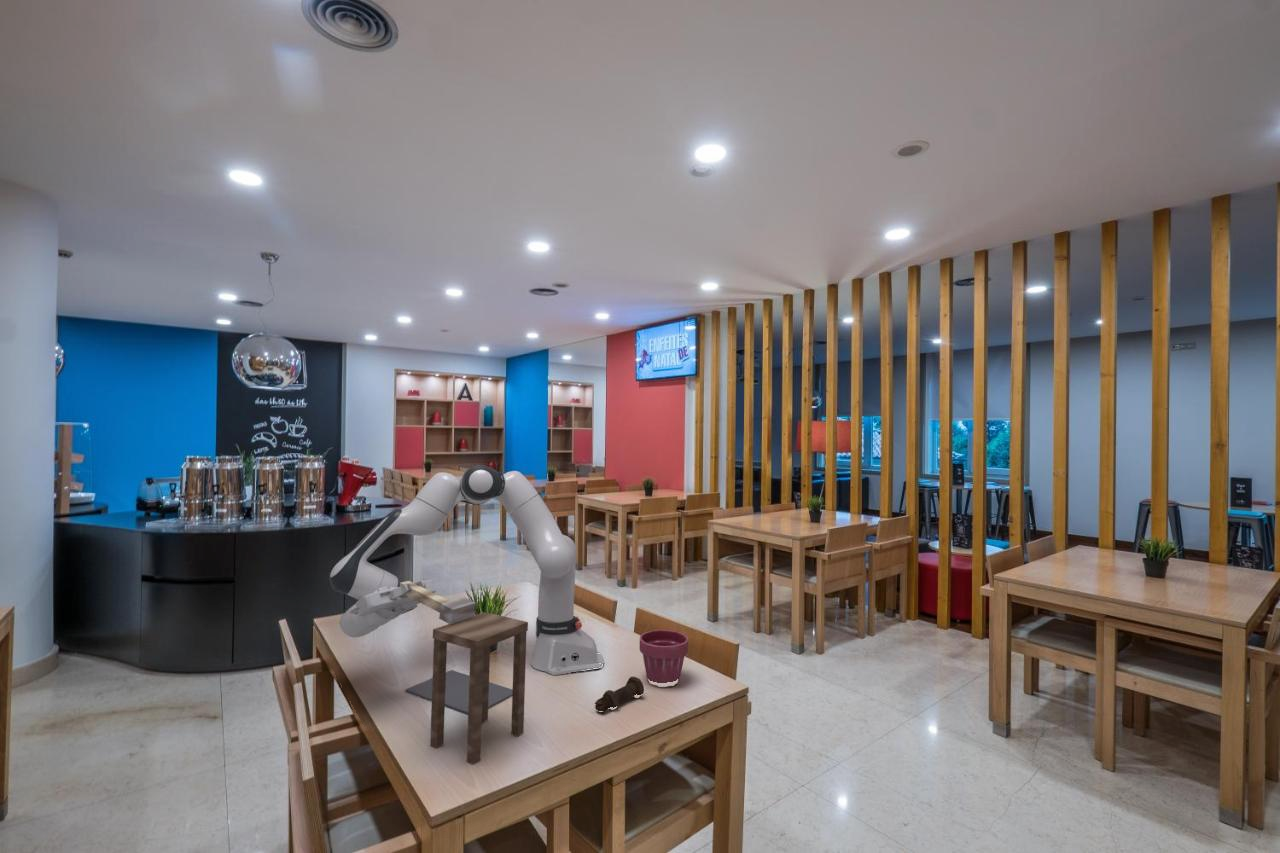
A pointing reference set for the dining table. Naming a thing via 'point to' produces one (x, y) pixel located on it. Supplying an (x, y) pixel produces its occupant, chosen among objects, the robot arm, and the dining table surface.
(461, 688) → the mat
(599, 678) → the dining table surface
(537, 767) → the dining table surface
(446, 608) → the hammer
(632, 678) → the bolt
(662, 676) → the plant pot
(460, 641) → the stool
